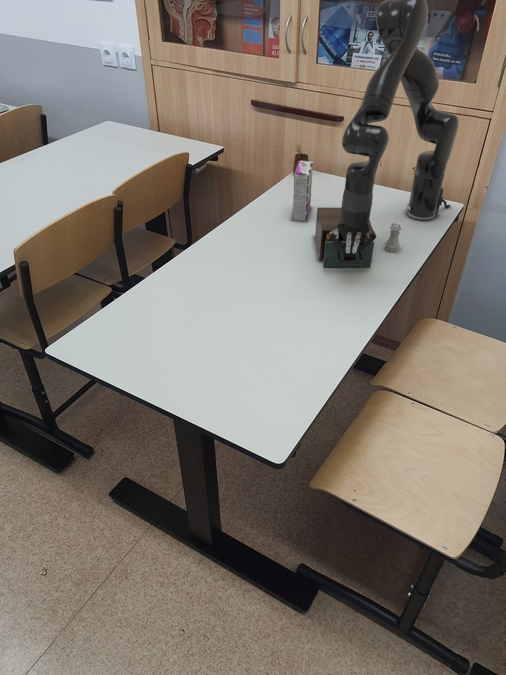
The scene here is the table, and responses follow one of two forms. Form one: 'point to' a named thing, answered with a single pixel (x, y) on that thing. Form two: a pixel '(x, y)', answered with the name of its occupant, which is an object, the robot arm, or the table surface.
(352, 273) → the table surface
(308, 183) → the candy bar box
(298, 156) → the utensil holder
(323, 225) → the cabinet
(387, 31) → the robot arm
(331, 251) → the drawer
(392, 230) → the rook chess piece
